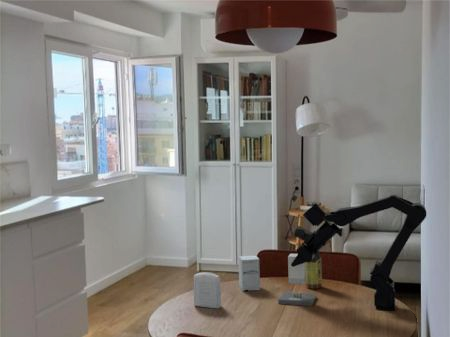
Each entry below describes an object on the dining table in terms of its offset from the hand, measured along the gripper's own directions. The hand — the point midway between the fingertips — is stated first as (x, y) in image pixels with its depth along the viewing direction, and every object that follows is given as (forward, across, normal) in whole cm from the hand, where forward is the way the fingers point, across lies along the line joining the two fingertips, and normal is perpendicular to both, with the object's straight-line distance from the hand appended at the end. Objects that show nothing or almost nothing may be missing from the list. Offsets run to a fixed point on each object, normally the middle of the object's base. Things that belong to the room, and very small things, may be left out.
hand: (293, 264), depth 195 cm
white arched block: (+30, +13, -11) cm, 35 cm away
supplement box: (+24, -11, -5) cm, 27 cm away
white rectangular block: (+4, 0, +6) cm, 7 cm away
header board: (+9, 0, +10) cm, 14 cm away
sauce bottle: (+7, -18, +13) cm, 23 cm away
